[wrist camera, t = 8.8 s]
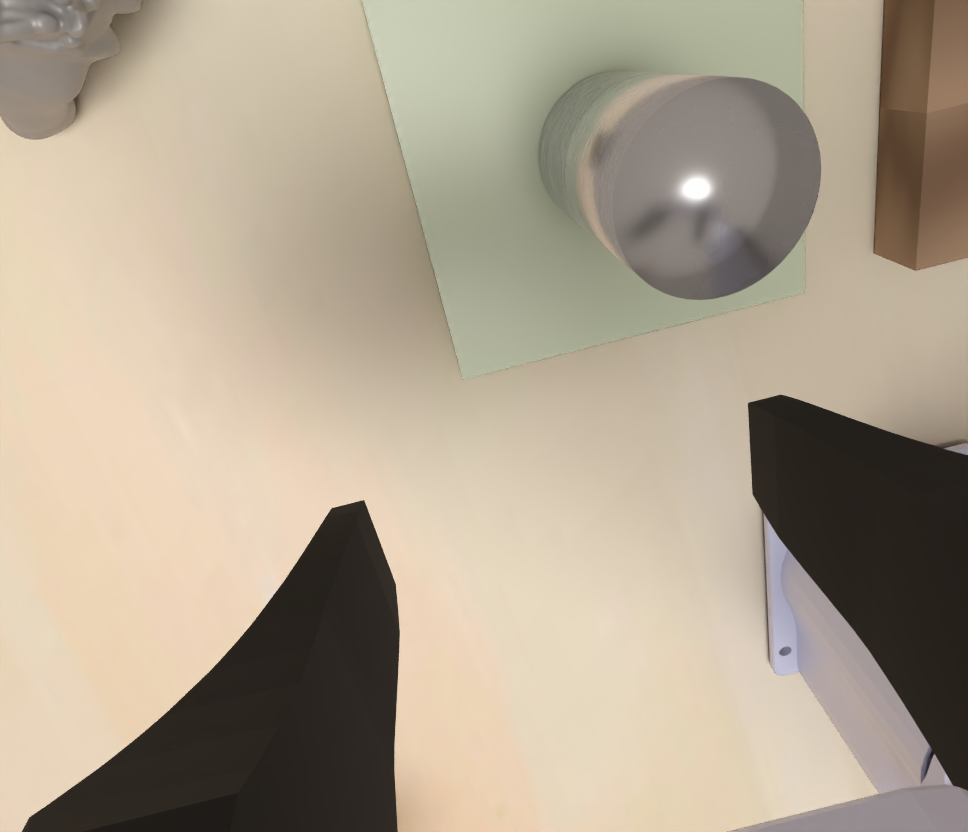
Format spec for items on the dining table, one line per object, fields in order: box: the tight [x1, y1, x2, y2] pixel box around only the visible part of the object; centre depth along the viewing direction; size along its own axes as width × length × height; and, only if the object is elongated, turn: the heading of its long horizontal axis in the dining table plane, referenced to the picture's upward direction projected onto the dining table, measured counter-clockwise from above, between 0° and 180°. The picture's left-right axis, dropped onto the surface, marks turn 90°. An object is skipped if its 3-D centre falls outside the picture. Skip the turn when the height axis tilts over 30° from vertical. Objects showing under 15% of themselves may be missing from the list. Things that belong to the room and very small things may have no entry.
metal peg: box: [538, 70, 821, 300], centre depth 16 cm, size 4×4×7 cm
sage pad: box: [362, 0, 805, 380], centre depth 20 cm, size 11×11×1 cm
